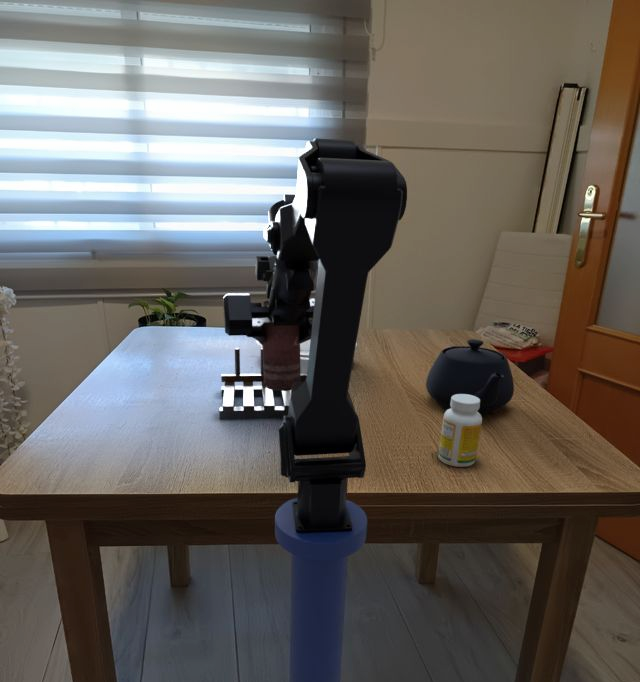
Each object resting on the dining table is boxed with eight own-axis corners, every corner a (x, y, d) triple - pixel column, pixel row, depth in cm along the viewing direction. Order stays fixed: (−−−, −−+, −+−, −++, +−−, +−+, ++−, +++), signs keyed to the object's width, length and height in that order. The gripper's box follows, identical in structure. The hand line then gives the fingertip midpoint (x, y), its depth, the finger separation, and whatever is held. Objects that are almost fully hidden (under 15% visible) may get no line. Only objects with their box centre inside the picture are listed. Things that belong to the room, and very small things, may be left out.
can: (279, 377, 100) (277, 296, 95) (308, 384, 96) (307, 300, 91) (255, 386, 96) (251, 301, 90) (284, 393, 92) (281, 306, 87)
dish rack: (338, 418, 98) (340, 369, 94) (219, 420, 95) (217, 370, 92) (327, 391, 111) (328, 347, 107) (222, 392, 108) (220, 347, 105)
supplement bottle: (434, 463, 83) (442, 400, 79) (442, 449, 87) (450, 389, 84) (472, 471, 81) (481, 407, 77) (478, 456, 85) (487, 395, 82)
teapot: (410, 385, 116) (416, 325, 112) (484, 385, 118) (493, 326, 113) (447, 433, 93) (456, 360, 89) (538, 432, 95) (552, 361, 90)
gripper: (348, 239, 86) (328, 301, 100) (221, 237, 82) (220, 301, 96) (359, 302, 81) (337, 357, 95) (226, 303, 78) (224, 360, 92)
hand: (280, 342), depth 95 cm, fingers closed on can, 5 cm apart
